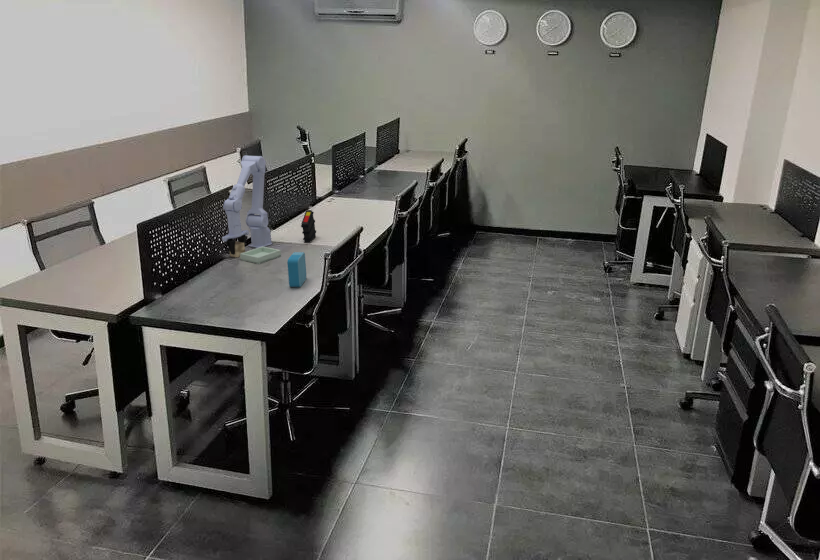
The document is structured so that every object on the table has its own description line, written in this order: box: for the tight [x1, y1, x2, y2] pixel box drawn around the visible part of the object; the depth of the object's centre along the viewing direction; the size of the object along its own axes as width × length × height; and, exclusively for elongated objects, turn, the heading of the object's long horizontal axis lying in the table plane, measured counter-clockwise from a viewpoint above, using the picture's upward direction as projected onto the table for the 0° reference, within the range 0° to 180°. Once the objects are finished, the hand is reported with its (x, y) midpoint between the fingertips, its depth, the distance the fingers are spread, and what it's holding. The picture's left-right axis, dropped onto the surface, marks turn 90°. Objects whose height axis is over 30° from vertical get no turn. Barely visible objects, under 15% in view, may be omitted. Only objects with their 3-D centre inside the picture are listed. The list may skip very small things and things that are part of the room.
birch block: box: [228, 240, 246, 259], centre depth 312 cm, size 5×5×6 cm
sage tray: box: [239, 246, 282, 265], centre depth 308 cm, size 14×12×3 cm
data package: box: [287, 251, 307, 288], centre depth 273 cm, size 12×4×12 cm, turn 175°
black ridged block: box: [300, 209, 317, 244], centre depth 334 cm, size 4×13×15 cm, turn 172°
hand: (237, 252), depth 313 cm, fingers closed on birch block, 5 cm apart
